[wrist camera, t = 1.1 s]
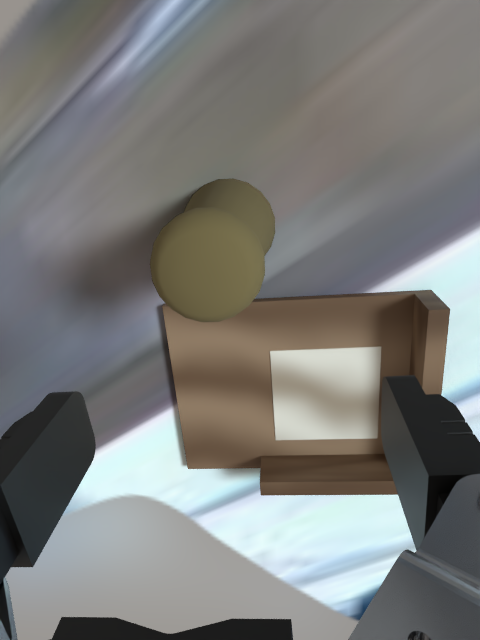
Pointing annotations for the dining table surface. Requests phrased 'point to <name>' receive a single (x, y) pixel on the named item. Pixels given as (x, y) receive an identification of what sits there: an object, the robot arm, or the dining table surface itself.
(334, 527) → the dining table surface
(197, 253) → the olive double-lobed piece
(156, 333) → the dining table surface
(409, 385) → the robot arm
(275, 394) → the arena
